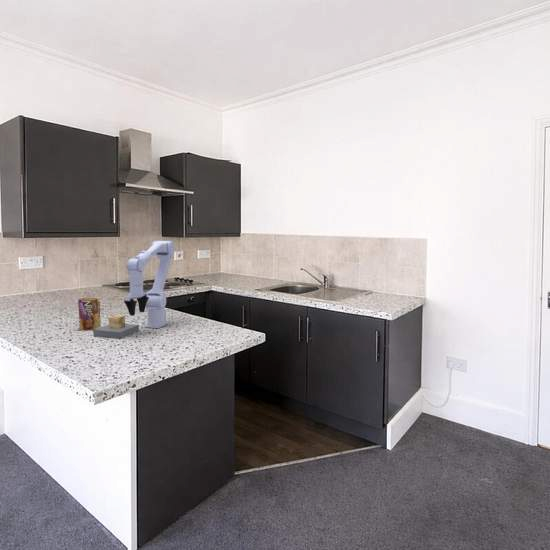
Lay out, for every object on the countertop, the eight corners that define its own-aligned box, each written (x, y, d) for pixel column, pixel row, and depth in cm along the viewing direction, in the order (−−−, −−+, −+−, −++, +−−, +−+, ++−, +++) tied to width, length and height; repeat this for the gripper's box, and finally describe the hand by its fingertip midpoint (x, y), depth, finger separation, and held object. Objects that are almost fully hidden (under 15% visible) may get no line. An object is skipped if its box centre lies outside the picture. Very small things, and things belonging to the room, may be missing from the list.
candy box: (101, 327, 193) (100, 296, 191) (98, 329, 189) (97, 298, 187) (81, 327, 192) (80, 297, 190) (79, 330, 187) (77, 298, 186)
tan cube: (115, 325, 185) (115, 315, 184) (125, 326, 183) (124, 315, 183) (108, 328, 180) (108, 317, 179) (118, 329, 178) (118, 318, 178)
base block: (113, 328, 190) (113, 322, 190) (139, 331, 187) (138, 324, 186) (93, 336, 177) (93, 329, 177) (120, 338, 173) (120, 332, 173)
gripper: (138, 282, 188) (138, 310, 189) (118, 286, 174) (119, 316, 175) (151, 283, 186) (151, 311, 188) (132, 287, 172) (133, 317, 174)
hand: (137, 313), depth 181 cm, fingers open, 7 cm apart
